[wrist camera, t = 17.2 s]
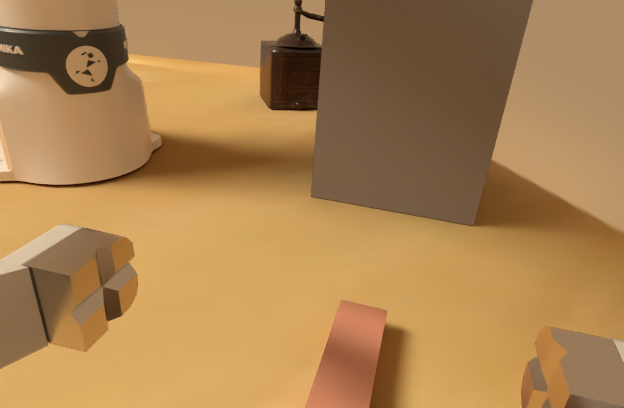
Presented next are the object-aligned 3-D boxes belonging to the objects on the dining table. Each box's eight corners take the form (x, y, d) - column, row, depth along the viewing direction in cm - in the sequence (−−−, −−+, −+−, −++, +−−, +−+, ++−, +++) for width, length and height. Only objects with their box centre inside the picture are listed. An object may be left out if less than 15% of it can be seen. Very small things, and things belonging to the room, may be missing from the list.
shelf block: (479, 229, 43) (569, -103, 31) (304, 197, 46) (325, -112, 34) (471, 165, 57) (531, -76, 45) (340, 145, 61) (363, -84, 49)
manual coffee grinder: (270, 111, 73) (274, -13, 65) (258, 94, 82) (259, -17, 74) (360, 110, 77) (374, -7, 69) (339, 93, 87) (348, -11, 78)
